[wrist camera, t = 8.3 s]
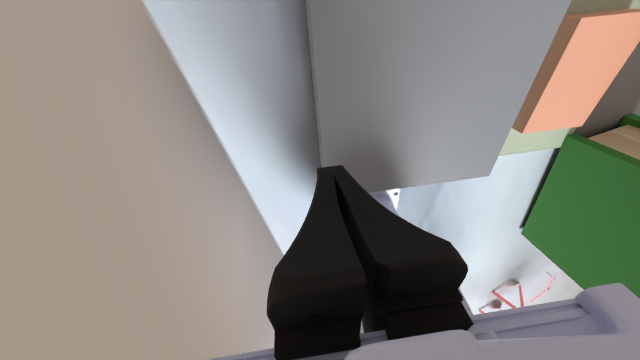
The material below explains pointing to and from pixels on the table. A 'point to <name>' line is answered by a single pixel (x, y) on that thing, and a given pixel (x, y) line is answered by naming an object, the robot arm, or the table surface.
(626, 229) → the hardback book
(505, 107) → the block
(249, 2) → the table surface
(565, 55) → the terracotta tile
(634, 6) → the sage mat
